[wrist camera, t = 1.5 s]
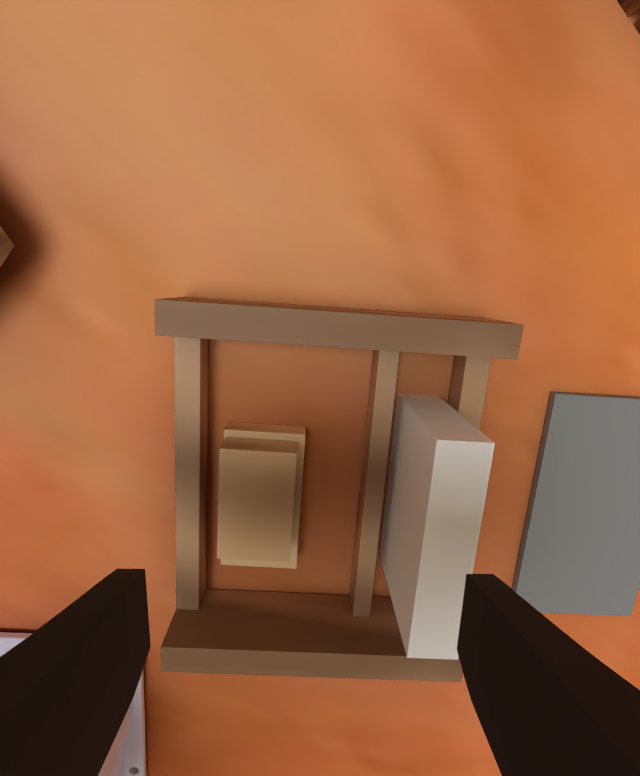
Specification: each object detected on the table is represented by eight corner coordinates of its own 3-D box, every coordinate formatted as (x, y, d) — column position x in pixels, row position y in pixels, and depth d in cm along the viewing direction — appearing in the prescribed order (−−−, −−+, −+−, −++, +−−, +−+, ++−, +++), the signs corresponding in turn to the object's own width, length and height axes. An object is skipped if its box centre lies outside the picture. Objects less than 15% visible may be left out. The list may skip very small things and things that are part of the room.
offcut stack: (297, 550, 21) (295, 589, 18) (226, 546, 21) (213, 585, 18) (305, 424, 19) (305, 446, 17) (230, 419, 19) (217, 441, 17)
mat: (625, 610, 22) (630, 616, 21) (508, 605, 22) (512, 611, 21) (681, 399, 19) (689, 402, 19) (550, 391, 19) (555, 394, 19)
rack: (436, 619, 22) (460, 681, 18) (184, 609, 21) (161, 671, 18) (483, 317, 18) (523, 325, 15) (184, 297, 18) (154, 299, 14)
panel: (416, 555, 21) (458, 659, 15) (379, 553, 21) (406, 657, 15) (437, 395, 19) (494, 443, 13) (397, 392, 19) (437, 439, 13)
